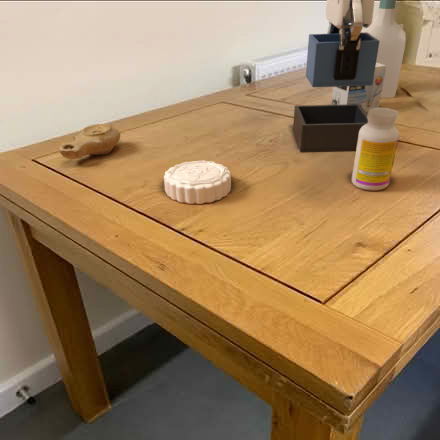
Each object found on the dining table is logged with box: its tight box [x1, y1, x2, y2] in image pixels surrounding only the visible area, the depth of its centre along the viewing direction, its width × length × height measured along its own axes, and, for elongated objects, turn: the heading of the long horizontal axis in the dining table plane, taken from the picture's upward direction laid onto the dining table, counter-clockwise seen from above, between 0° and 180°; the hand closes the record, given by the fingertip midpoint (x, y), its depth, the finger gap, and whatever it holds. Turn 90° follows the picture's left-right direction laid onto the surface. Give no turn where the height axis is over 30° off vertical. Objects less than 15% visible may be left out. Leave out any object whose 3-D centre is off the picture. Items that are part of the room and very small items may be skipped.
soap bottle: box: [361, 0, 407, 99], centre depth 121 cm, size 11×8×27 cm
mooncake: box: [163, 159, 232, 205], centre depth 84 cm, size 12×12×4 cm
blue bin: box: [305, 32, 380, 88], centre depth 71 cm, size 9×7×6 cm
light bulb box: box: [330, 62, 386, 114], centre depth 116 cm, size 11×7×11 cm, turn 114°
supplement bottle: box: [351, 107, 400, 191], centre depth 81 cm, size 7×7×13 cm
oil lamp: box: [58, 123, 121, 160], centre depth 98 cm, size 11×14×5 cm
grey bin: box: [292, 104, 368, 153], centre depth 101 cm, size 15×14×6 cm
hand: (338, 72), depth 72 cm, fingers closed on blue bin, 7 cm apart
